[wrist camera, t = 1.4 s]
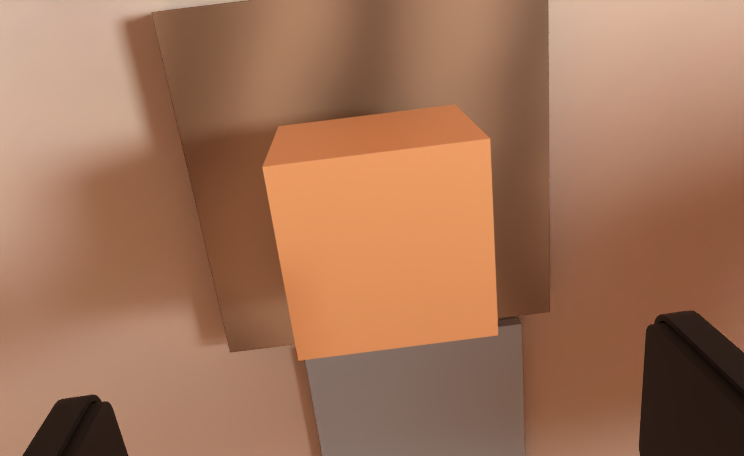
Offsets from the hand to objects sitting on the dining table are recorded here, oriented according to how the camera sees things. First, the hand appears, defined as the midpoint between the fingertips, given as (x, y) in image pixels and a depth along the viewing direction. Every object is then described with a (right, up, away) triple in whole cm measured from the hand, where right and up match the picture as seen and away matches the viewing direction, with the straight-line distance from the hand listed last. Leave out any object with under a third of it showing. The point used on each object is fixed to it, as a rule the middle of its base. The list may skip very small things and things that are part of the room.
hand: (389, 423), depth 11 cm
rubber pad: (+2, -6, +20) cm, 21 cm away
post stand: (0, +6, +15) cm, 16 cm away
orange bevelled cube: (0, +4, +11) cm, 12 cm away
